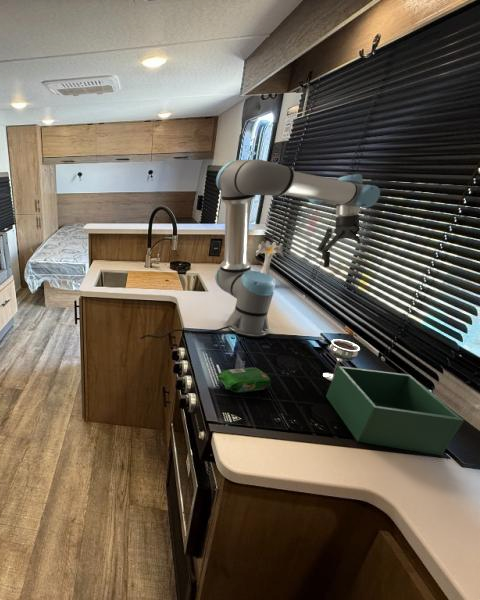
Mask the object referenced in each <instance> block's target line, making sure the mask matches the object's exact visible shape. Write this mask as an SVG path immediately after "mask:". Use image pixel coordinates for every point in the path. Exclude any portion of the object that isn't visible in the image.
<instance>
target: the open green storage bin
mask: <svg viewBox="0 0 480 600" xmlns="http://www.w3.org/2000/svg"><path fill="white" fill-rule="evenodd" d="M325 397H326V399H327V401H328V402H329V404H330V405H331V406H332V407H333V409H334V410H335V412H336V413H337V415H338V416H339V417H340V419H341V420H342V422H343V423H344V425H345V426H346V427H347V429H348V430H349V432H350V433H351V434H352V436H353V438H354V439H355V440H356V442H358V443H364V444H368V445H369V444H370V445H375V446H382V447H387V448H392V449H400V450H406V451H412V452H416V453H422V454H429V455H436V456H442V455H443V454H444V453H445V451H446V450H447V448H448V446H449V445H450V444H451V442H452V441H453V438H454V437H455V436H456V434H457V433H458V431H459V430H460V428H461V426H462V425H463V424H464V422H465V420H464V419H463V418H462V417H461V416H460V415H459V414H457V413H456V412H455V411H453V410H452V408H450V407H449V406H448V405H447V404H445V403H444V402H443V401H442V400H441V399H439V398H438V397H437V396H436V395H435V394H434V393H432V391H430V390H429V389H428V388H427V387H425V386H424V385H423V384H422V383H421V382H419V381H418V380H417V379H416V378H415V377H413V375H411V374H409V373H408V374H407V373H398V372H392V371H391V372H390V371H382V370H375V369H374V370H373V369H365V368H357V367H350V366H341V365H339V366H338V367H337V370H336V372H335V375H334V377H333V380H332V381H330V384H329V387H328V390H327V392H326V395H325Z"/></svg>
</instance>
